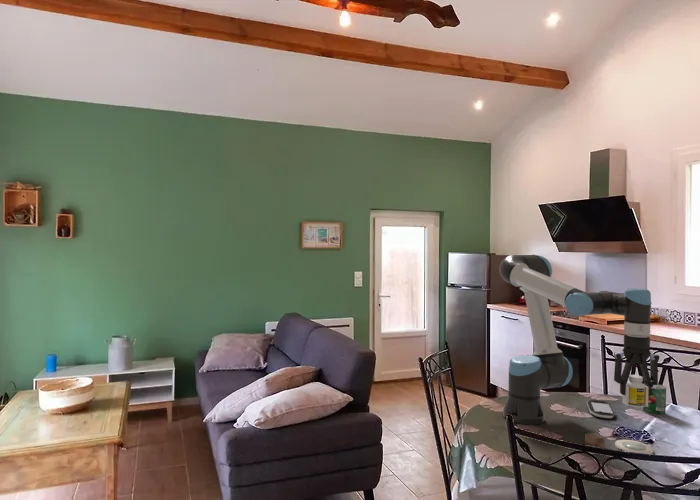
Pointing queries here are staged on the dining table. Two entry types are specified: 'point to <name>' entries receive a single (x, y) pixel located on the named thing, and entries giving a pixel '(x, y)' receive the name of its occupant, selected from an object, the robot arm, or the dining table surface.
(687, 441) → the dining table surface
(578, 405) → the dining table surface
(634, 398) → the supplement bottle
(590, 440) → the walnut block
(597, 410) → the gaming console
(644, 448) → the saucer
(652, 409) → the canned tomato
